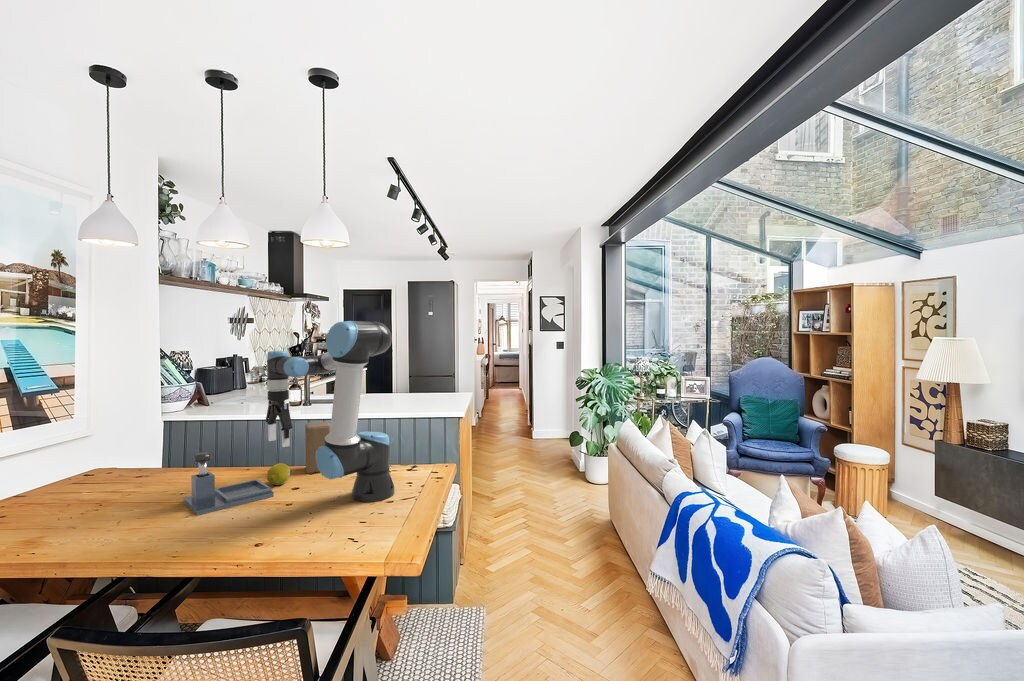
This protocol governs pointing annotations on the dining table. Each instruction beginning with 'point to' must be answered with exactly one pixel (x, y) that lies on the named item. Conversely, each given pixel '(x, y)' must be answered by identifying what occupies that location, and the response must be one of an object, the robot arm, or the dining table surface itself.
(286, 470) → the lemon
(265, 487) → the base
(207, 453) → the ball
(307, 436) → the wooden block
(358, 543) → the dining table surface
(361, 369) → the robot arm
